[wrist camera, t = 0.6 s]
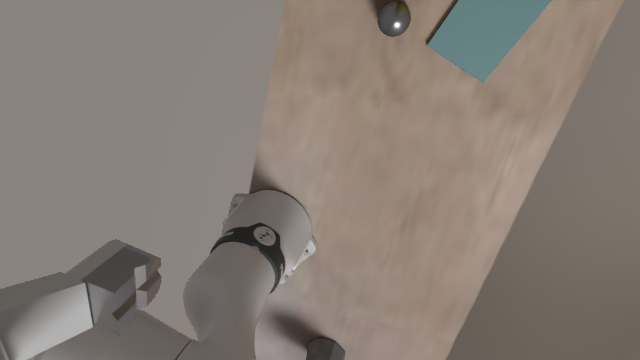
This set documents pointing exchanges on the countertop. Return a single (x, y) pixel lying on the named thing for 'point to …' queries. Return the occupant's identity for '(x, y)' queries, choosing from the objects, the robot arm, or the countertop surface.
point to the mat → (484, 32)
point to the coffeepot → (324, 350)
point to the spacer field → (394, 19)
